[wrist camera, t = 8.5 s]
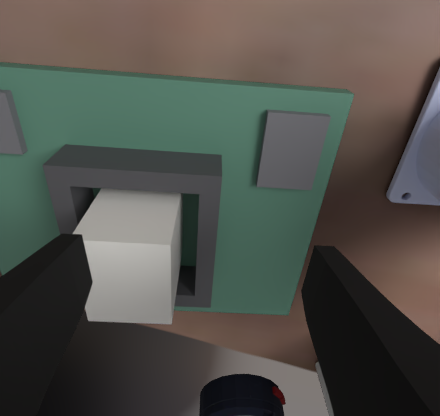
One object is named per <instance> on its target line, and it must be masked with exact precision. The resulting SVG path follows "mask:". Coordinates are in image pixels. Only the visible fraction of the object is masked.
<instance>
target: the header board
mask: <svg viewBox="0 0 440 416" xmlns="http://www.w3.org/2000/svg"><path fill="white" fill-rule="evenodd" d="M353 97H354V94H353V93H352V92H350V91H349V90H347V89H335V88H322V87H309V86H297V85H284V84H271V83H259V82H246V81H233V80H220V79H208V78H195V77H182V76H169V75H157V74H144V73H131V72H119V71H106V70H93V69H80V68H68V67H55V66H42V65H29V64H17V63H4V62H0V271H1V274H2V276H3V275H4V274H6V273H7V272H8V271H10V270H11V269H13V268H14V267H15V266H17V265H18V264H20V263H21V262H22V261H24V260H25V259H27V258H28V257H29V256H31V255H32V254H33V253H35V252H36V251H37V250H39V249H40V248H42V247H43V246H44V245H46V244H47V243H49V242H50V241H51V240H53V239H54V238H56V237H57V236H59V235H60V234H62V233H63V234H73V232H74V231H75V229H76V227H77V226H78V224H79V223H80V221H81V220H82V218H83V216H84V215H85V213H86V212H87V210H88V209H89V207H90V205H91V204H92V202H93V201H94V199H95V198H96V196H97V195H98V193H99V191H100V190H101V188H105V189H122V190H138V191H155V192H171V193H183V237H182V256H181V263H180V270H179V277H178V284H177V291H176V298H175V305H174V310H178V311H201V312H224V313H247V314H270V315H289V312H290V308H291V305H292V302H293V298H294V295H295V292H296V288H297V285H298V282H299V278H300V275H301V271H302V268H303V265H304V261H305V258H306V255H307V251H308V248H309V245H310V241H311V238H312V235H313V231H314V228H315V224H316V221H317V218H318V214H319V211H320V208H321V204H322V201H323V198H324V194H325V191H326V188H327V184H328V181H329V177H330V174H331V171H332V167H333V164H334V161H335V157H336V154H337V151H338V147H339V144H340V141H341V137H342V134H343V130H344V127H345V124H346V120H347V117H348V114H349V110H350V107H351V104H352V100H353Z"/></svg>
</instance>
